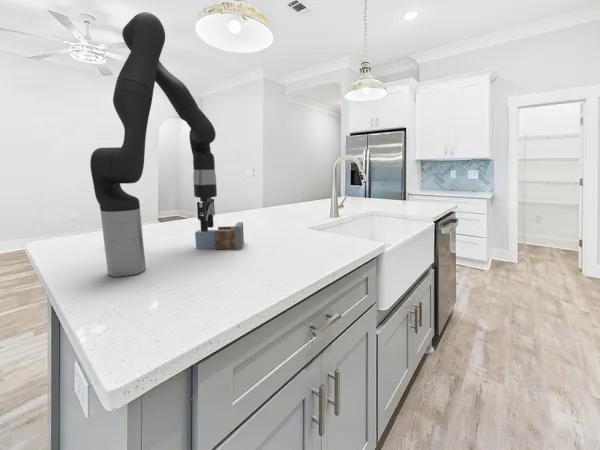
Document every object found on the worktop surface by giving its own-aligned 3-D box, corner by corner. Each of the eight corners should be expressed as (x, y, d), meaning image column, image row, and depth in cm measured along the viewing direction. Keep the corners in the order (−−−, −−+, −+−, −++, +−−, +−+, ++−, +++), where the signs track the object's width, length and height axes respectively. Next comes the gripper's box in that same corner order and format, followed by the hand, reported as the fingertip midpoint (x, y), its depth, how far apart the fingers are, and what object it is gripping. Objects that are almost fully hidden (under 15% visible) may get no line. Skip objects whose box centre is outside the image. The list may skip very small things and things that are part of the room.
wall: (235, 249, 110) (234, 226, 108) (238, 243, 118) (237, 222, 117) (241, 249, 110) (240, 226, 108) (243, 243, 119) (243, 222, 117)
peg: (196, 249, 111) (195, 232, 110) (198, 246, 115) (197, 230, 114) (230, 248, 112) (229, 231, 111) (232, 245, 116) (231, 229, 115)
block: (215, 249, 109) (214, 231, 108) (219, 242, 118) (218, 226, 117) (235, 248, 110) (234, 231, 108) (238, 242, 118) (237, 226, 117)
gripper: (199, 182, 116) (202, 226, 118) (187, 183, 102) (190, 233, 104) (220, 182, 116) (222, 226, 118) (211, 183, 102) (213, 233, 104)
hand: (207, 229), depth 111 cm, fingers open, 8 cm apart
